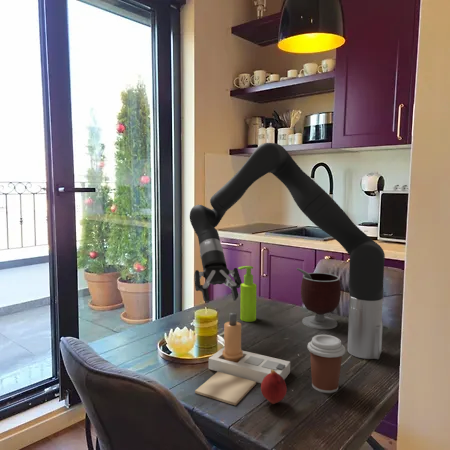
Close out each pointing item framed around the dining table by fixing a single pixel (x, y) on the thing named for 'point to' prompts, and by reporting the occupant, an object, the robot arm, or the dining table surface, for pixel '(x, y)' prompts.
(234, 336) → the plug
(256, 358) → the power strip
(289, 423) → the dining table surface
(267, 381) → the onion
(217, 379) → the cork mat
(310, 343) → the coffee cup
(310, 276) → the mate gourd
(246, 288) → the soap dispenser
